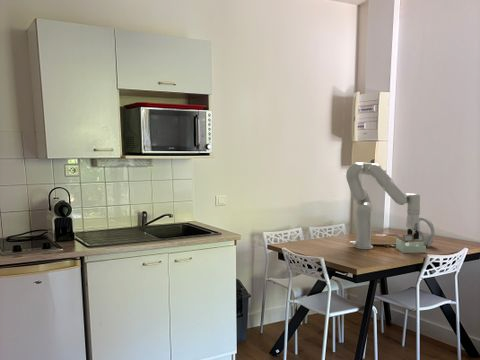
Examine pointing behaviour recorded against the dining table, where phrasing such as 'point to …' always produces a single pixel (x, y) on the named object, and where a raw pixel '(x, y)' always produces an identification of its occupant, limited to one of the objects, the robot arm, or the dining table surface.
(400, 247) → the stand
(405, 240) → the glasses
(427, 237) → the headphones
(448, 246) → the dining table surface
